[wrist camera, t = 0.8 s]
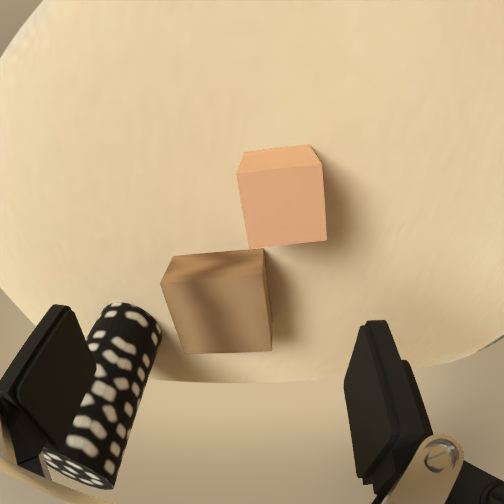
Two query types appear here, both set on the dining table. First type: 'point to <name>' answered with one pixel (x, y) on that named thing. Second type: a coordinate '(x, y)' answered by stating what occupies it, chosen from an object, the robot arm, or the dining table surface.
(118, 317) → the white-spotted black cylinder
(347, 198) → the dining table surface
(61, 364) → the robot arm
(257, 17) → the dining table surface
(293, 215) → the peach matte cube
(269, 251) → the dining table surface
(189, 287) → the walnut block
